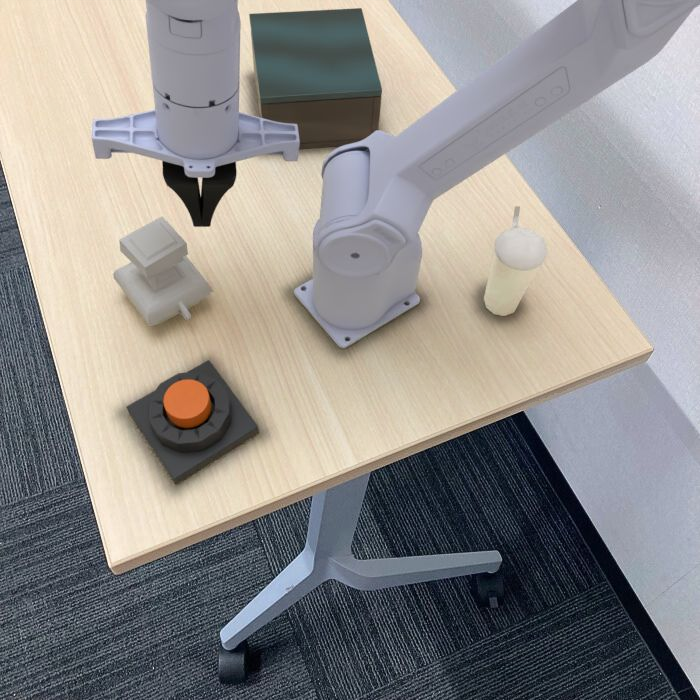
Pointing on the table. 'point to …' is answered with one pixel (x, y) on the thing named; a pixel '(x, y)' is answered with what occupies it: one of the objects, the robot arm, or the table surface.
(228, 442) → the switch block
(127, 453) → the table surface
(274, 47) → the lid
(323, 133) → the box
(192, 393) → the button
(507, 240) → the milkshake
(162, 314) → the stamp
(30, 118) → the table surface
